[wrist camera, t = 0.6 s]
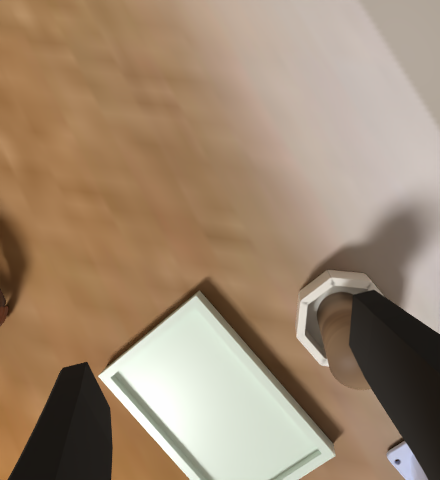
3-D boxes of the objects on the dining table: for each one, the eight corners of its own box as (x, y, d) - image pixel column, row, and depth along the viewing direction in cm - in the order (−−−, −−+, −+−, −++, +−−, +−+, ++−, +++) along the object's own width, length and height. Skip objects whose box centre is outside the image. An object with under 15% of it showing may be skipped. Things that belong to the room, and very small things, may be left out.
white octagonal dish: (405, 320, 33) (415, 332, 30) (333, 370, 34) (338, 385, 32) (348, 253, 32) (353, 260, 30) (279, 306, 34) (279, 317, 32)
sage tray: (333, 443, 35) (335, 455, 34) (231, 510, 38) (229, 523, 36) (199, 290, 35) (195, 295, 33) (105, 368, 37) (98, 376, 36)
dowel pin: (377, 319, 32) (408, 366, 25) (337, 347, 33) (355, 401, 26) (345, 282, 32) (366, 317, 25) (306, 311, 33) (315, 354, 25)
